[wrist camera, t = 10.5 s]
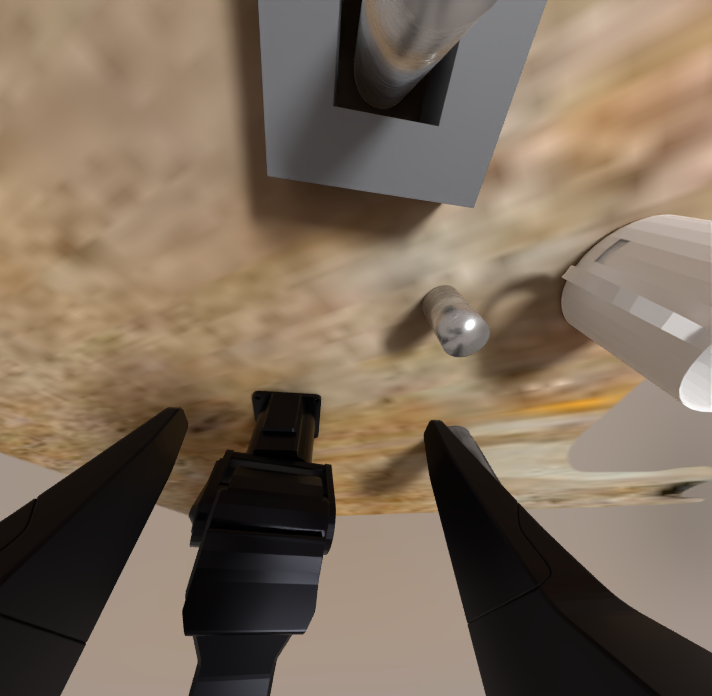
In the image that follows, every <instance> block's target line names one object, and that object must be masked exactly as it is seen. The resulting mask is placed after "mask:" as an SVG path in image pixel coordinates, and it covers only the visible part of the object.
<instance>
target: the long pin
mask: <svg viewBox="0 0 712 696" xmlns="http://www.w3.org/2000/svg"><path fill="white" fill-rule="evenodd" d="M497 1H498V0H362V5H361V13H360V20H359V27H358V35H357V42H356V50H355V57H354V77H355V82H356V86H357V89H358V91H359V93H360V95H361V96H362V98H363V99H364V100H365V101H366V102H367V103H368V104H369V105H370V106H372V107H374V108H377V109H388V108H391V107H393V106H395V105H396V104H398V103H399V102H400V101H401V100H402V99H403V98H404V97H405V96H406V95H407V94H408V93H409V92H410V91H411V90H412V89H413V88H414V87H415V86H416V85H417V83H418V82H419V81H420V80H421V79H422V78H423V77H424V76H425V75H426V74H427V73H428V72H429V71H430V70H431V69H432V68H433V67H434V66H435V65H436V64H437V63H438V62H439V61H440V60H441V59H442V58H443V57H444V56H445V55H446V54H447V53H448V51H449V50H450V49H451V48H452V47H453V46H454V45H455V44H456V43H457V42H458V41H459V40H460V39H461V38H462V37H463V36H464V35H465V34H466V33H467V32H468V31H469V30H470V29H471V28H472V27H473V26H474V25H475V24H476V23H477V22H478V21H479V19H480V18H481V17H482V16H483V15H484V14H485V13H486V12H487V11H488V10H489V9H490V8H491V7H492V6H493V5H494V4H495V3H496V2H497Z"/></svg>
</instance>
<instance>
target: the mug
mask: <svg viewBox="0 0 712 696" xmlns="http://www.w3.org/2000/svg"><path fill="white" fill-rule="evenodd" d="M562 278H564V279H566V280H567V281H566V284H565V286H564V288H563V292H562V297H561V307H562V312H563V315H564V318H565V319H566V321H567V322H568V323H569V324H570V325H571V326H573V327H574V328H576V329H577V330H579V331H580V332H581V333H583V334H584V335H586V336H587V337H588V338H590V339H591V340H593V341H594V342H596V343H597V344H598V345H600V346H601V347H603V348H604V349H606V350H607V351H608V352H610V353H611V354H613V355H614V356H615V357H617V358H618V359H620V360H621V361H623V362H624V363H625V364H627V365H628V366H630V367H631V368H633V369H634V370H635V371H637V372H638V373H640V374H641V375H642V376H644V377H645V378H647V379H648V380H650V381H651V382H653V383H654V384H655V385H657V386H658V387H660V388H661V389H662V390H664V391H665V392H667V393H668V394H670V395H671V396H672V397H674V398H675V399H677V400H678V401H679V402H681V403H682V404H684V405H685V406H687V407H688V408H690V409H693V410H697V411H701V412H712V221H710V220H703V219H697V218H691V217H684V216H677V215H670V214H666V215H656V216H652V217H648V218H645V219H641V220H638V221H635V222H633V223H631V224H628V225H626V226H624V227H622V228H620V229H618V230H616V231H615V232H613V233H611V234H610V235H608V236H606V237H605V238H604V239H603V240H601V241H600V242H599V243H597V244H596V245H595V246H594V247H593V248H592V249H591V250H590V251H589V252H587V253H586V254H585V255H584V256H583V257H582V259H581V260H580V261H579V262H578V264H577V265H576V266H572V265H571V266H570V267H569V268H568V270H567V271H566V273H565V274H564V275H563V276H562Z"/></svg>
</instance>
